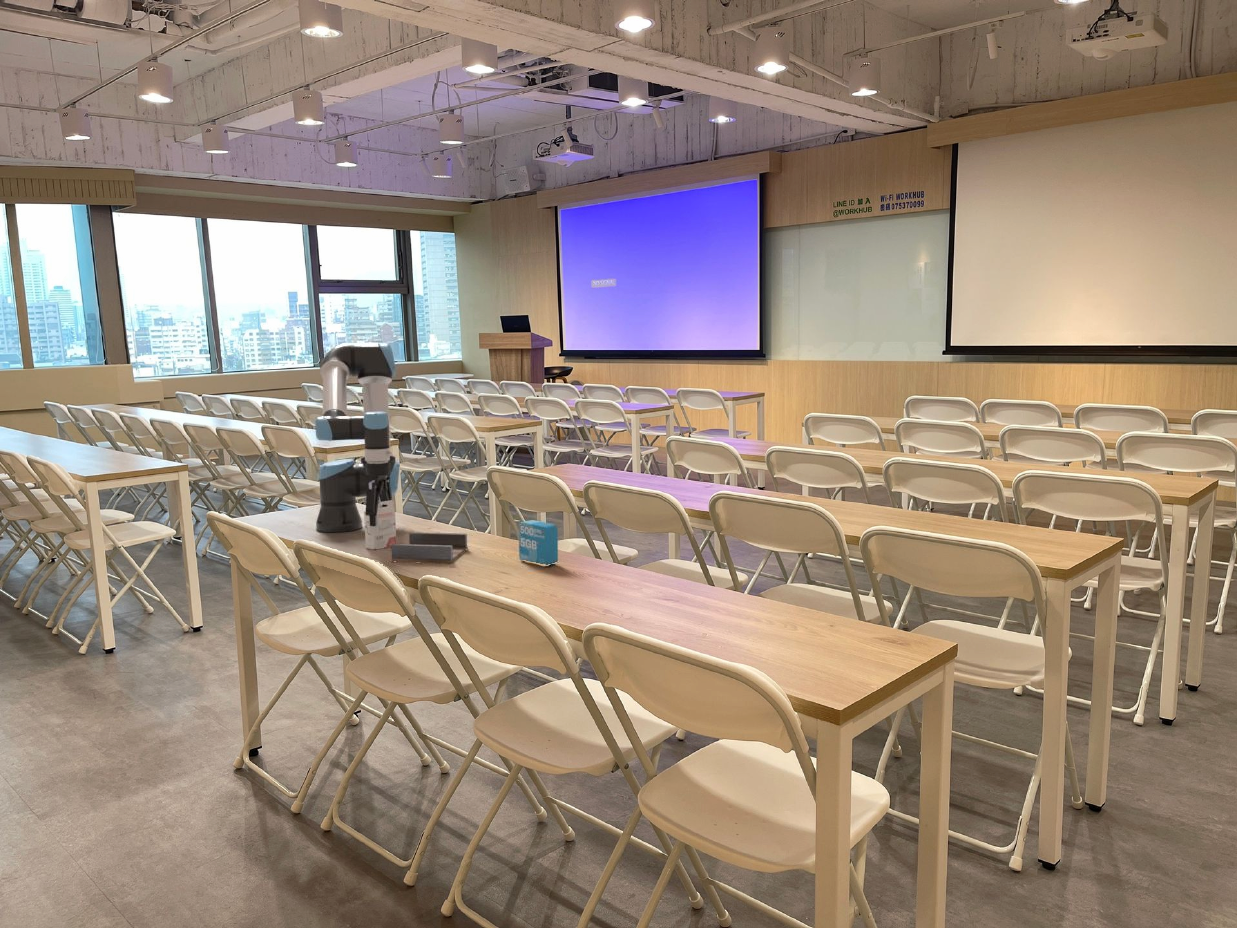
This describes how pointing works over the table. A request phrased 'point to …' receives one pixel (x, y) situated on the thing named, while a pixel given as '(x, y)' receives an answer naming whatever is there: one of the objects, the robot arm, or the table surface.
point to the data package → (538, 542)
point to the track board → (430, 548)
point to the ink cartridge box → (382, 527)
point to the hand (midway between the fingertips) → (380, 532)
